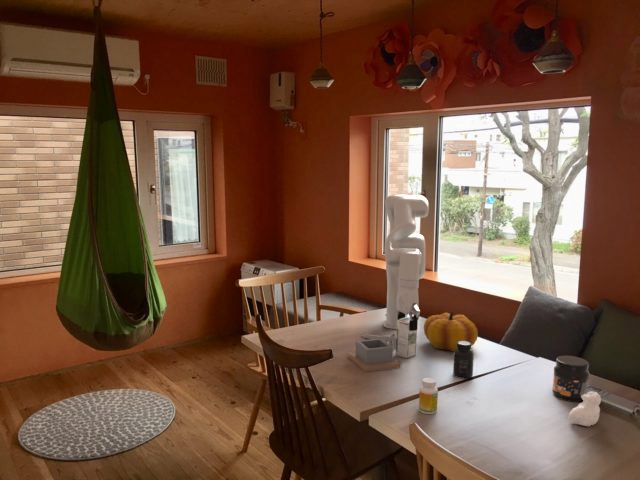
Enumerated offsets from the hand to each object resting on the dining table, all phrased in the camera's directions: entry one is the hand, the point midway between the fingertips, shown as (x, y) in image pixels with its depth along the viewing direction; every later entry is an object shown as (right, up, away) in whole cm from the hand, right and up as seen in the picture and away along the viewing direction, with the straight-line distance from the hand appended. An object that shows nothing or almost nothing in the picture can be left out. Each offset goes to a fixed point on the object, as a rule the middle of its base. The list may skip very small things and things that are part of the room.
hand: (407, 326), depth 213 cm
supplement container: (+48, -18, -33) cm, 60 cm away
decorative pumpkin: (+19, -10, +13) cm, 26 cm away
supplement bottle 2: (+17, -15, -17) cm, 28 cm away
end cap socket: (-13, -12, -5) cm, 19 cm away
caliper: (-9, -10, +17) cm, 22 cm away
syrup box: (0, -12, +2) cm, 12 cm away
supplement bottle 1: (-1, -19, -45) cm, 49 cm away
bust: (+44, -20, -52) cm, 71 cm away
